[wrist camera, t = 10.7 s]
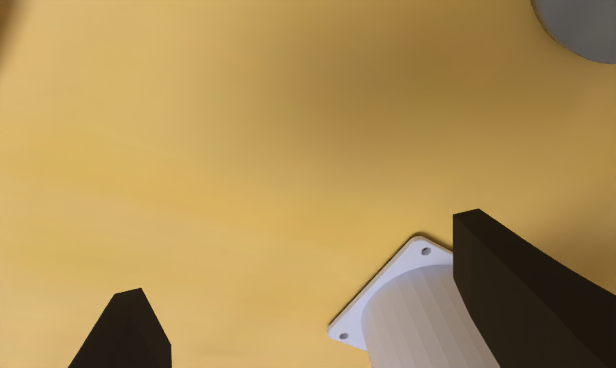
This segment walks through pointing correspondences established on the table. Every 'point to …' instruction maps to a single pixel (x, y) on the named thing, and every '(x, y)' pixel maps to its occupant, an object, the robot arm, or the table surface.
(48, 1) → the table surface
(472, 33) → the table surface
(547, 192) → the table surface
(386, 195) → the table surface
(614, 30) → the slate coaster
